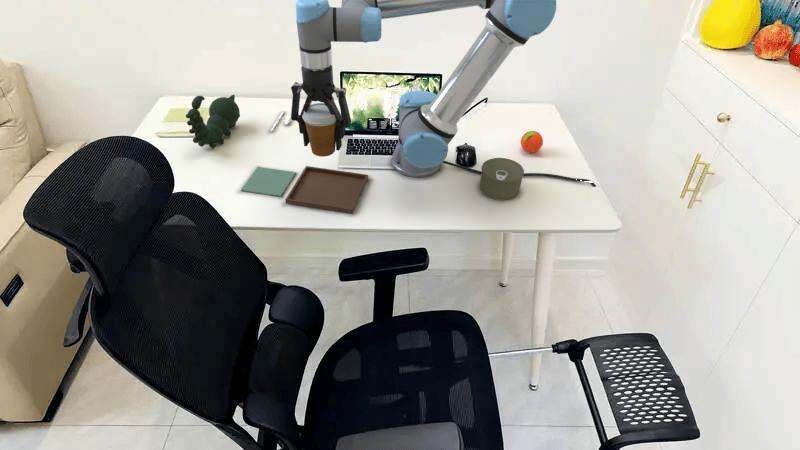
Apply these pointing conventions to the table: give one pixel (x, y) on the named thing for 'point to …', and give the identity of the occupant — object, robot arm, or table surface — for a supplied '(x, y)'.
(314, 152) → the disposable coffee cup
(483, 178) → the can
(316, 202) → the tray
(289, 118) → the picture light
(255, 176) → the mat
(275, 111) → the table surface
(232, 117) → the toy figurine
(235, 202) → the table surface
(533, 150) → the clementine
